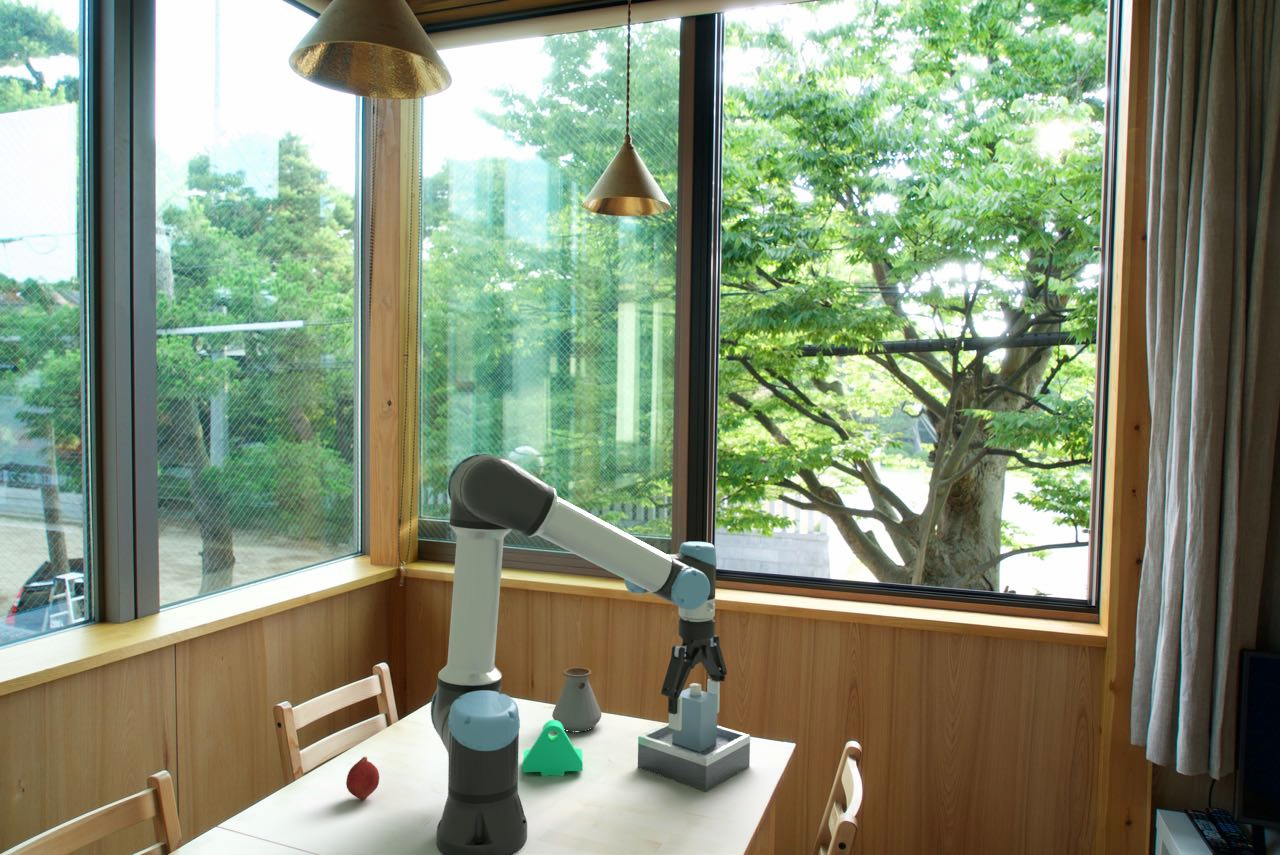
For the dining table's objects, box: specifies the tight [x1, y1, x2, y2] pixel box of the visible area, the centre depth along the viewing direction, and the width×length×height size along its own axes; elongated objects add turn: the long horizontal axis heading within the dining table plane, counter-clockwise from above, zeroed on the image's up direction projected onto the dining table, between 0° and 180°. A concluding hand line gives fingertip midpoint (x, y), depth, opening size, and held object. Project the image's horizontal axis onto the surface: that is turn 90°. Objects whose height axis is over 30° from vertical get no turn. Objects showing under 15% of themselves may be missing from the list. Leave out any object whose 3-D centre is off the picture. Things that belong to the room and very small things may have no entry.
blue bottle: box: [672, 682, 718, 752], centre depth 171 cm, size 6×7×12 cm
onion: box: [345, 756, 380, 801], centre depth 154 cm, size 6×6×8 cm
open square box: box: [637, 722, 751, 793], centre depth 172 cm, size 16×17×6 cm
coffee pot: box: [552, 667, 602, 733], centre depth 188 cm, size 21×12×15 cm, turn 8°
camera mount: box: [521, 719, 584, 777], centre depth 170 cm, size 12×8×10 cm, turn 95°
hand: (694, 719), depth 171 cm, fingers open, 13 cm apart
